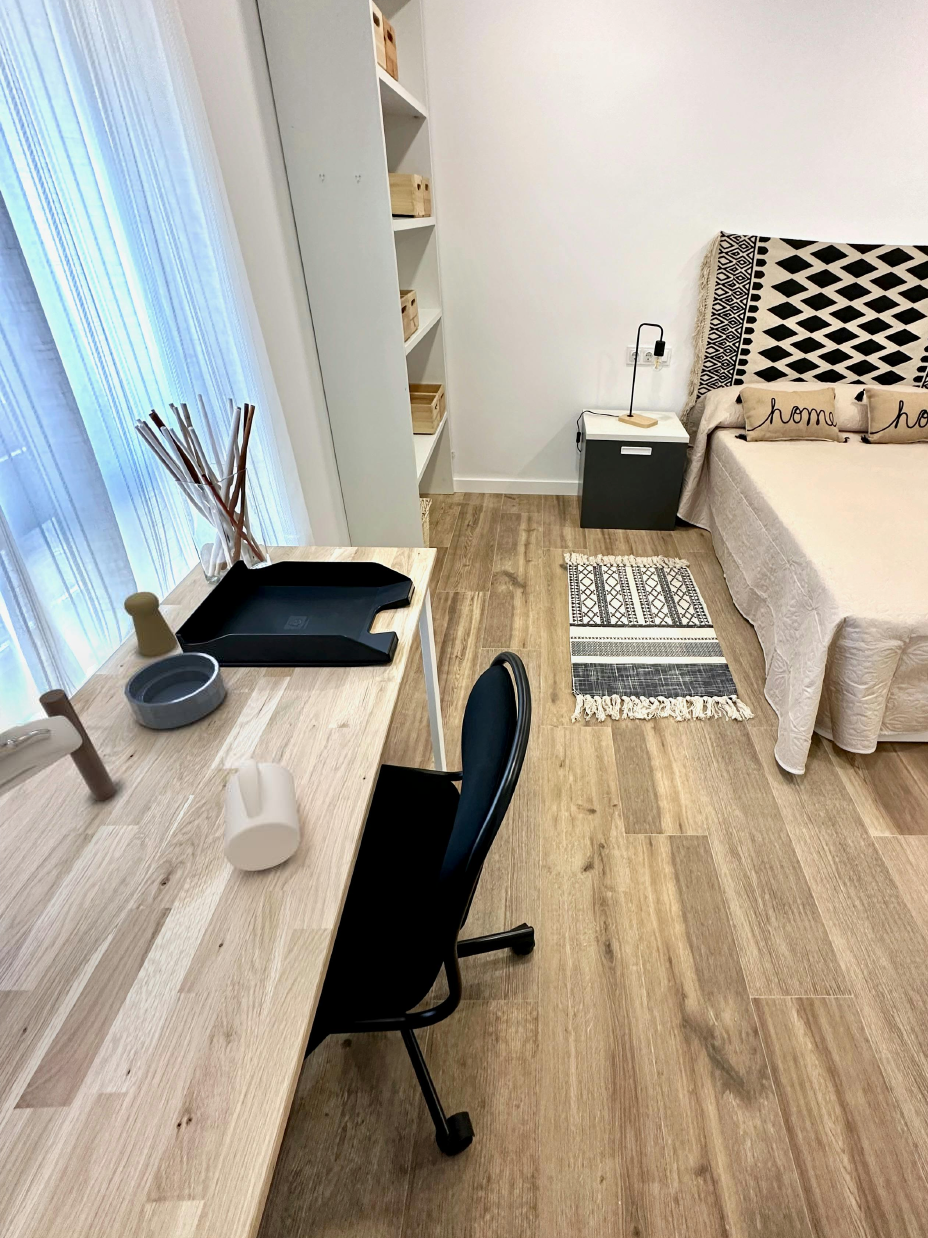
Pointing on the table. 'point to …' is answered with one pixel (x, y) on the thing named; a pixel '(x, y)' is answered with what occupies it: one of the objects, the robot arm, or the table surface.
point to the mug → (260, 816)
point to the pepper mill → (149, 624)
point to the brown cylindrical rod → (81, 746)
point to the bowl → (175, 690)
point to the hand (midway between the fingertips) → (6, 783)
